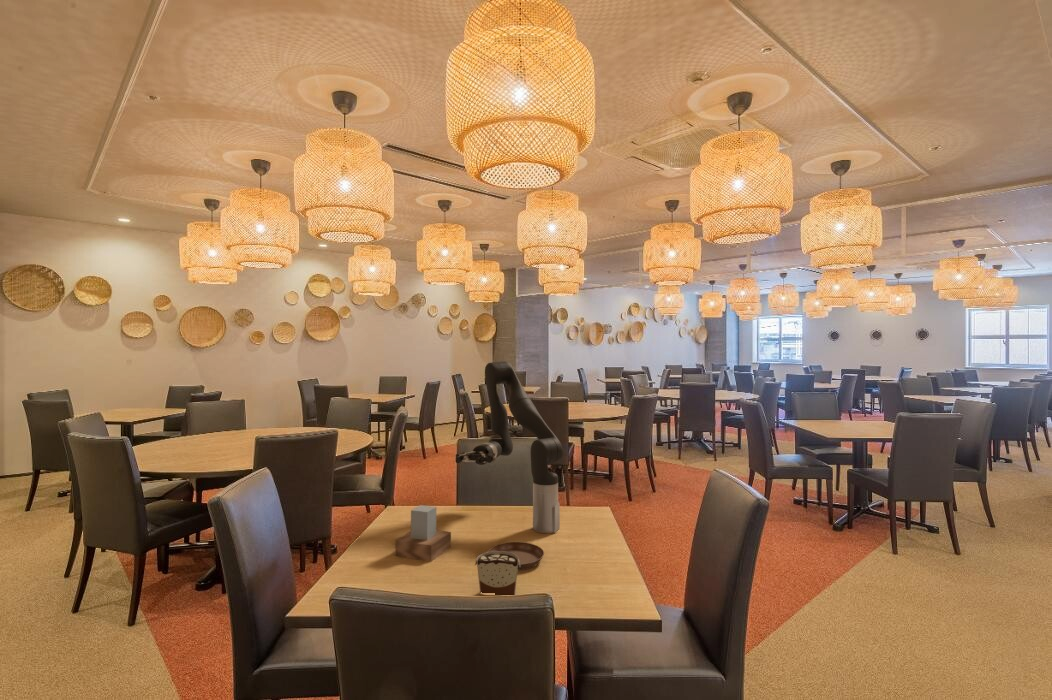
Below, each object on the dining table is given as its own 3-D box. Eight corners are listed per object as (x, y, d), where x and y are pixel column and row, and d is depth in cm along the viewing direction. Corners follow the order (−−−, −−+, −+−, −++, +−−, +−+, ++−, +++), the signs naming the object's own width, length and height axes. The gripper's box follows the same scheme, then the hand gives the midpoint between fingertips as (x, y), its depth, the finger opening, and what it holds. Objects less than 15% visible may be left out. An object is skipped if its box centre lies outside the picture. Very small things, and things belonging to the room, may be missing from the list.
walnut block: (450, 546, 179) (450, 532, 179) (431, 561, 167) (431, 545, 167) (416, 542, 184) (416, 527, 184) (395, 556, 171) (395, 540, 171)
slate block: (436, 534, 177) (436, 506, 177) (427, 540, 172) (427, 512, 172) (420, 532, 179) (420, 505, 179) (410, 538, 174) (410, 510, 174)
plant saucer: (532, 577, 157) (533, 566, 157) (478, 568, 163) (478, 558, 163) (551, 555, 173) (551, 545, 173) (500, 548, 179) (500, 539, 179)
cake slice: (522, 586, 150) (522, 551, 150) (520, 597, 143) (520, 559, 143) (479, 584, 151) (479, 549, 151) (474, 594, 145) (474, 557, 145)
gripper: (468, 443, 213) (449, 449, 197) (501, 444, 208) (485, 451, 193) (468, 462, 213) (450, 470, 197) (502, 463, 208) (485, 472, 193)
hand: (467, 460), depth 195 cm, fingers open, 8 cm apart
